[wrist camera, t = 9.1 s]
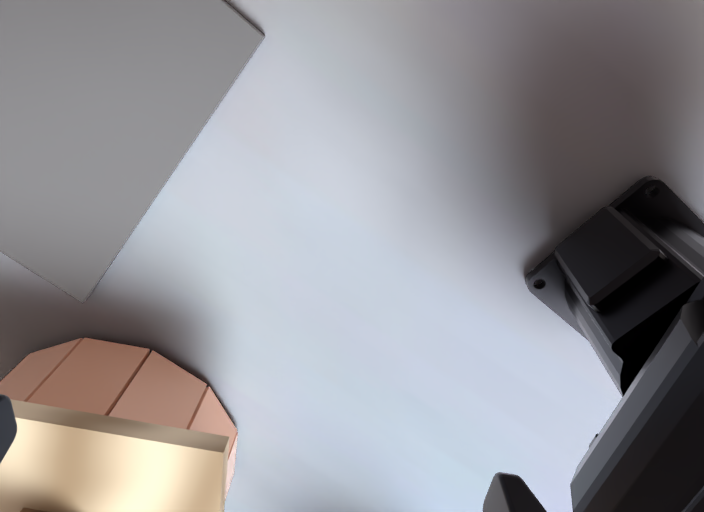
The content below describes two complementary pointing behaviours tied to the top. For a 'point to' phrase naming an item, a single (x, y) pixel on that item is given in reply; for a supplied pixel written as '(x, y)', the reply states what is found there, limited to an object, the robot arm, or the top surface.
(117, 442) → the lid
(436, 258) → the top surface
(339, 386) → the top surface
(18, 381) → the bowl
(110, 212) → the mat
